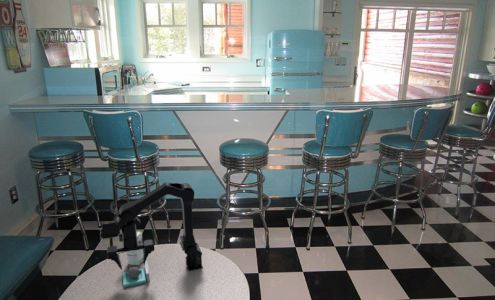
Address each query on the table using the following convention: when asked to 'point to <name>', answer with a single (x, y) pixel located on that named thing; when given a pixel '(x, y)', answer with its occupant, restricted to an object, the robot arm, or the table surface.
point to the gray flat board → (147, 271)
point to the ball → (133, 272)
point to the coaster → (132, 282)
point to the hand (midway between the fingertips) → (132, 266)
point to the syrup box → (136, 252)
